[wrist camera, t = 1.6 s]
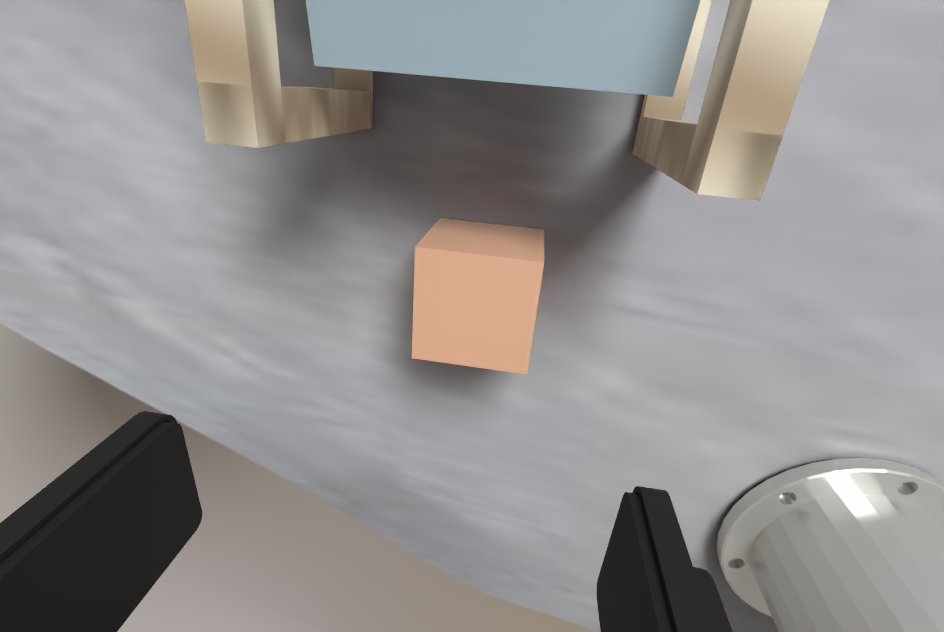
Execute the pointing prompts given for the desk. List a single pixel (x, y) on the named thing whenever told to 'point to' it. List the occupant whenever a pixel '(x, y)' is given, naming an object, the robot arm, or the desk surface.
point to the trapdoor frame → (660, 126)
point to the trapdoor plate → (510, 40)
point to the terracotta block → (477, 294)
